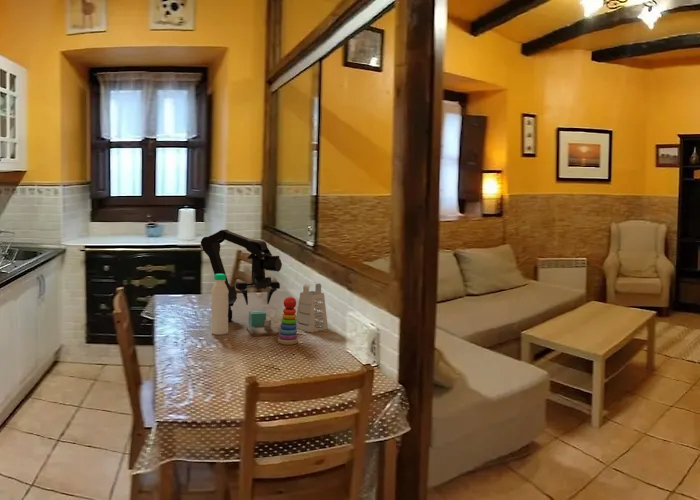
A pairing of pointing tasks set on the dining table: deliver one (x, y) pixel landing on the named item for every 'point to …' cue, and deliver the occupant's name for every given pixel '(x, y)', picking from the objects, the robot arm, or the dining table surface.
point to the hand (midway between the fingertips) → (257, 304)
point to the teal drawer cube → (257, 318)
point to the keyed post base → (262, 332)
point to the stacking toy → (288, 323)
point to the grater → (311, 309)
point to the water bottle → (219, 306)
